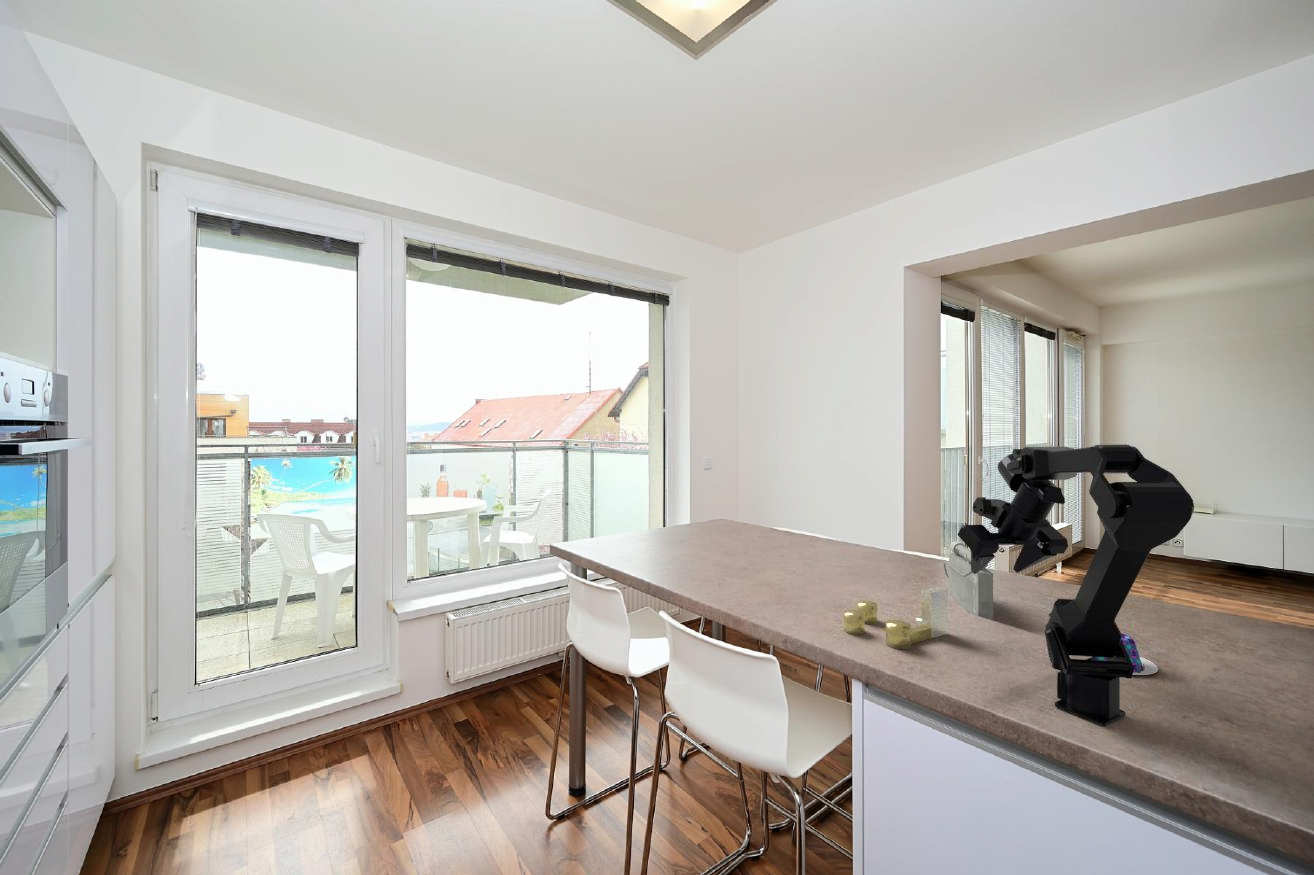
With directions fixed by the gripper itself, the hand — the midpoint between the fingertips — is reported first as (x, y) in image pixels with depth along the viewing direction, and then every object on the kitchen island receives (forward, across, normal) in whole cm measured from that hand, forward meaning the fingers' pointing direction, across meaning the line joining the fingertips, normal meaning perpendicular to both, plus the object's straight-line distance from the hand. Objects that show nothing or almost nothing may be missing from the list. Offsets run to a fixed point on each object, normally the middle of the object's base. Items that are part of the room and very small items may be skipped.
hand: (994, 571), depth 105 cm
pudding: (+7, -15, +16) cm, 23 cm away
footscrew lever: (+13, +15, +5) cm, 20 cm away
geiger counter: (+24, -12, -13) cm, 30 cm away
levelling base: (+15, +15, +3) cm, 22 cm away
